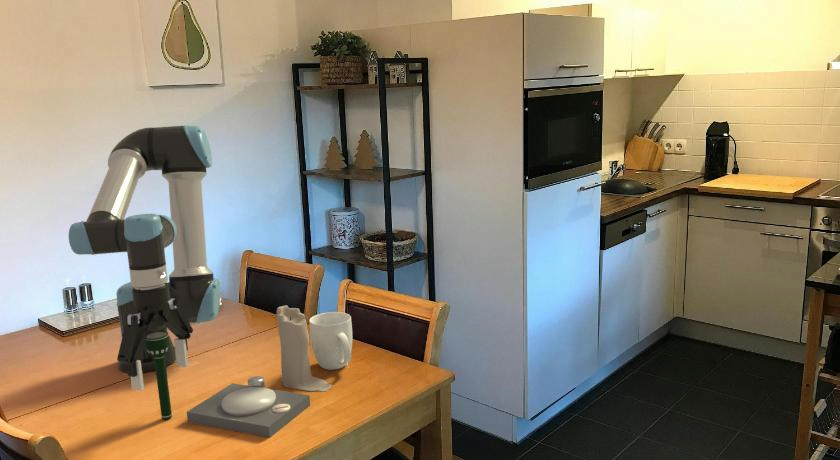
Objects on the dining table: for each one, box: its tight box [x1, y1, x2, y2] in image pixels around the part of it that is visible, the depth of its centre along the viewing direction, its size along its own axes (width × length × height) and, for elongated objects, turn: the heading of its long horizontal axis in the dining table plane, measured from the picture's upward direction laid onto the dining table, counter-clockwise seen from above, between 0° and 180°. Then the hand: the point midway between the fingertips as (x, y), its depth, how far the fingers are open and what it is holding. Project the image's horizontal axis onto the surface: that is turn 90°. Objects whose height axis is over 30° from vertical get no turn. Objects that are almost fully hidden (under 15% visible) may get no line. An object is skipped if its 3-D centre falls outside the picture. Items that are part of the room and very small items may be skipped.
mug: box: [308, 311, 353, 371], centre depth 179 cm, size 15×11×13 cm
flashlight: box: [145, 331, 173, 421], centre depth 153 cm, size 5×5×20 cm
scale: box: [186, 382, 311, 439], centre depth 156 cm, size 22×16×4 cm
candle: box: [276, 304, 333, 392], centre depth 169 cm, size 7×14×20 cm, turn 61°
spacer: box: [247, 375, 266, 388], centre depth 169 cm, size 4×4×2 cm
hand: (161, 377), depth 153 cm, fingers open, 13 cm apart
